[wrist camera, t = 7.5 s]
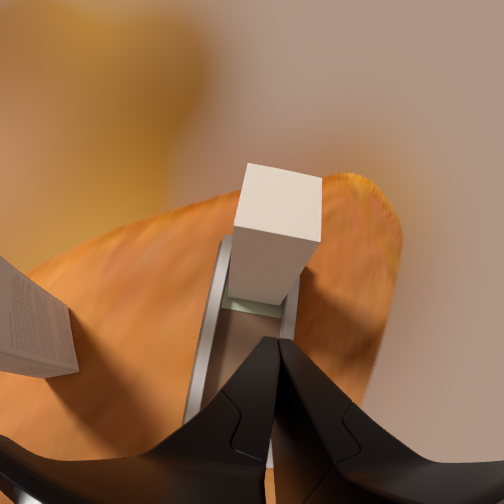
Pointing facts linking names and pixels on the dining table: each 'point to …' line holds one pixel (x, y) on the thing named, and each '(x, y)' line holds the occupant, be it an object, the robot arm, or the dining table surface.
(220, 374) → the track
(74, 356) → the skincare box
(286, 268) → the slider block
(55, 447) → the dining table surface
